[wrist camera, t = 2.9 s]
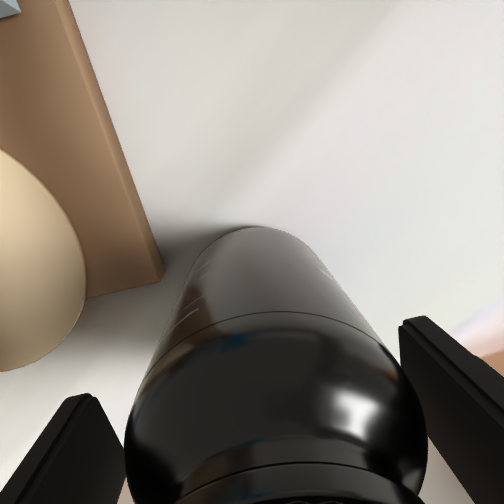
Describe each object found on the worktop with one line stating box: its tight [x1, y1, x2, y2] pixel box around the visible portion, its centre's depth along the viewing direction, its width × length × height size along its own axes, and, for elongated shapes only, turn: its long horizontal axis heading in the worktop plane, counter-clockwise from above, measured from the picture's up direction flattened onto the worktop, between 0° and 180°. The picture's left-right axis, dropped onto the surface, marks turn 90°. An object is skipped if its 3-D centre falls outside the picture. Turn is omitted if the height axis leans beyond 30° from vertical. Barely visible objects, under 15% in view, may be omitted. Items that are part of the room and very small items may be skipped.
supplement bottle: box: [124, 227, 428, 504], centre depth 9 cm, size 7×7×12 cm
